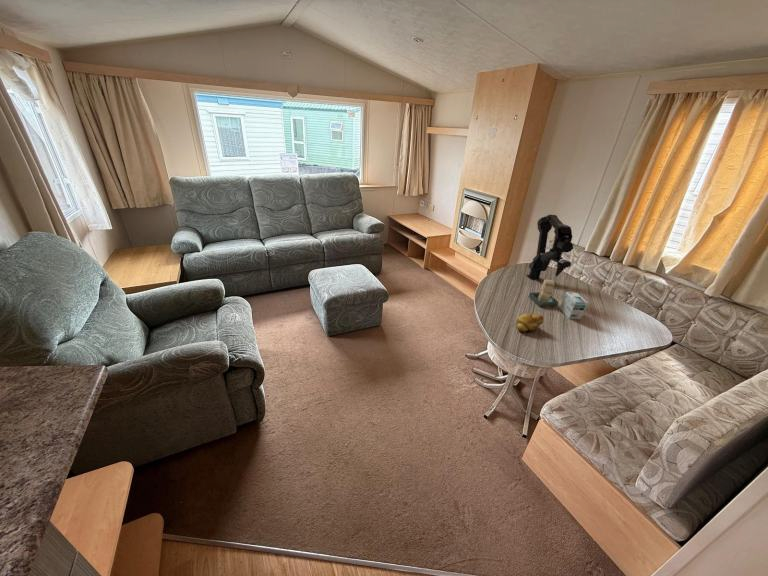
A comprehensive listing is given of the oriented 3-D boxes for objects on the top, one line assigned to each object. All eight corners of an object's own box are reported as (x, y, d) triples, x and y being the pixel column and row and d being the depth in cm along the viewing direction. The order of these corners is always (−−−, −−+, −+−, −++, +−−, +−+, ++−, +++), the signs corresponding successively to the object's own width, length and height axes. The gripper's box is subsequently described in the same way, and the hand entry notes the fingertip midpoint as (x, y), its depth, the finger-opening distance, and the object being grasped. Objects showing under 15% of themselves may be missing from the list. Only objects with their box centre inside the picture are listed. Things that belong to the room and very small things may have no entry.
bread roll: (523, 336, 148) (528, 322, 144) (508, 324, 155) (512, 311, 151) (541, 330, 153) (547, 317, 149) (526, 319, 161) (531, 306, 157)
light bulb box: (581, 320, 164) (588, 302, 159) (568, 319, 164) (575, 301, 159) (570, 309, 173) (577, 292, 168) (558, 308, 173) (565, 291, 168)
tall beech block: (537, 298, 180) (544, 279, 174) (546, 299, 180) (553, 280, 174) (539, 302, 177) (546, 282, 171) (547, 303, 176) (554, 284, 170)
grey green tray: (528, 297, 182) (529, 292, 181) (545, 296, 184) (546, 292, 183) (539, 307, 173) (541, 302, 171) (556, 306, 174) (558, 302, 173)
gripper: (534, 243, 183) (528, 268, 189) (559, 252, 167) (551, 279, 173) (549, 243, 187) (542, 268, 192) (575, 252, 170) (567, 278, 176)
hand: (550, 273), depth 183 cm, fingers open, 9 cm apart
